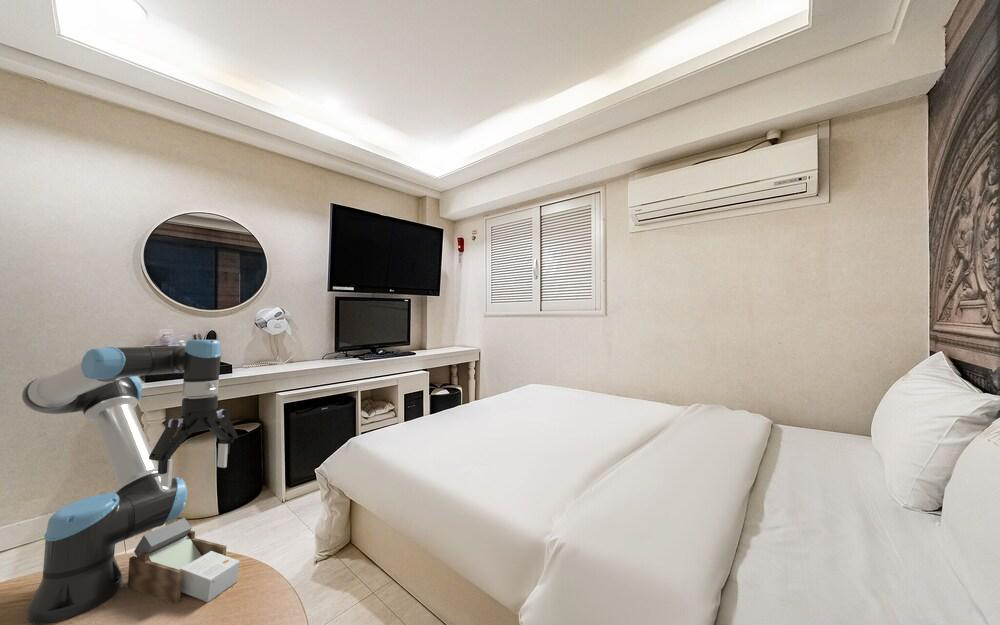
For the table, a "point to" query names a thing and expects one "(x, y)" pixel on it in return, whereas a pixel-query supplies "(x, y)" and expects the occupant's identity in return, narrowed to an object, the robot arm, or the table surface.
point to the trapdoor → (169, 545)
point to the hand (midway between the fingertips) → (195, 475)
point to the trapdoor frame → (164, 572)
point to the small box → (209, 576)
